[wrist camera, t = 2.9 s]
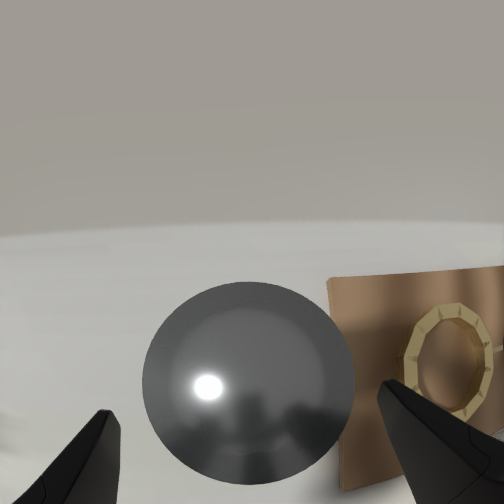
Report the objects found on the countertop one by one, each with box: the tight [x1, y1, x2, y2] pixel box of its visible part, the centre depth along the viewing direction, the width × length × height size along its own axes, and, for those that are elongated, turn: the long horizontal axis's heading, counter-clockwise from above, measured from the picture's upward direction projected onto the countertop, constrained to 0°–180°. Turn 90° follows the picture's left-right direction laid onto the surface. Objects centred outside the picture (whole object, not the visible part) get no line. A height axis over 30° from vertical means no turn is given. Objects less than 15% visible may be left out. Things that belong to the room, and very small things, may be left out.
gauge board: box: [327, 266, 504, 491], centre depth 16 cm, size 21×14×2 cm, turn 93°
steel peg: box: [142, 282, 355, 485], centre depth 11 cm, size 4×4×12 cm
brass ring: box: [394, 303, 494, 422], centre depth 16 cm, size 8×8×1 cm
